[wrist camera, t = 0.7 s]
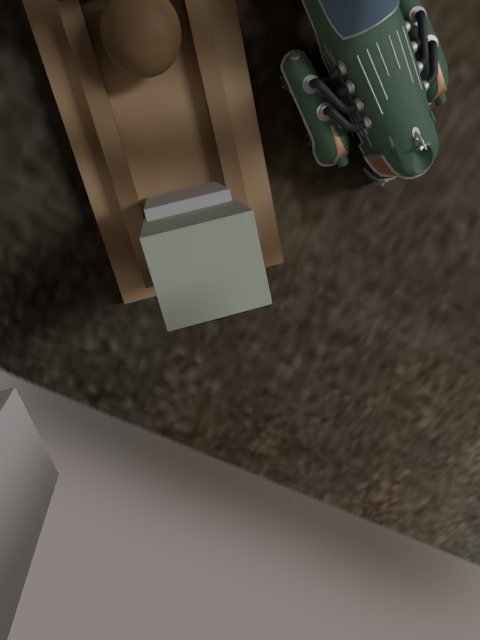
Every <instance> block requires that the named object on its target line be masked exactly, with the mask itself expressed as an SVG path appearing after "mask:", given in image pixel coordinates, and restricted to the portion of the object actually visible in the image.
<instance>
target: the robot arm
mask: <svg viewBox="0 0 480 640" xmlns="http://www.w3.org/2000/svg"><path fill="white" fill-rule="evenodd" d="M57 478H58V472H57V470H56V468H55V466H54V464H53V462H52V460H51V458H50V456H49V454H48V452H47V450H46V448H45V446H44V444H43V442H42V440H41V438H40V436H39V434H38V432H37V430H36V428H35V426H34V424H33V422H32V420H31V418H30V416H29V414H28V412H27V410H26V408H25V406H24V404H23V402H22V401H21V398H20V396H19V395H18V392H17V391H16V389H15V387H14V388H10V389H7V390H3V391H0V640H7V638H8V635H9V632H10V629H11V625H12V622H13V619H14V616H15V613H16V609H17V606H18V603H19V600H20V596H21V593H22V590H23V587H24V584H25V580H26V577H27V574H28V571H29V567H30V564H31V561H32V558H33V554H34V552H35V548H36V545H37V542H38V539H39V535H40V532H41V529H42V526H43V523H44V519H45V516H46V513H47V510H48V507H49V503H50V500H51V496H52V494H53V490H54V487H55V484H56V481H57Z"/></svg>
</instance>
